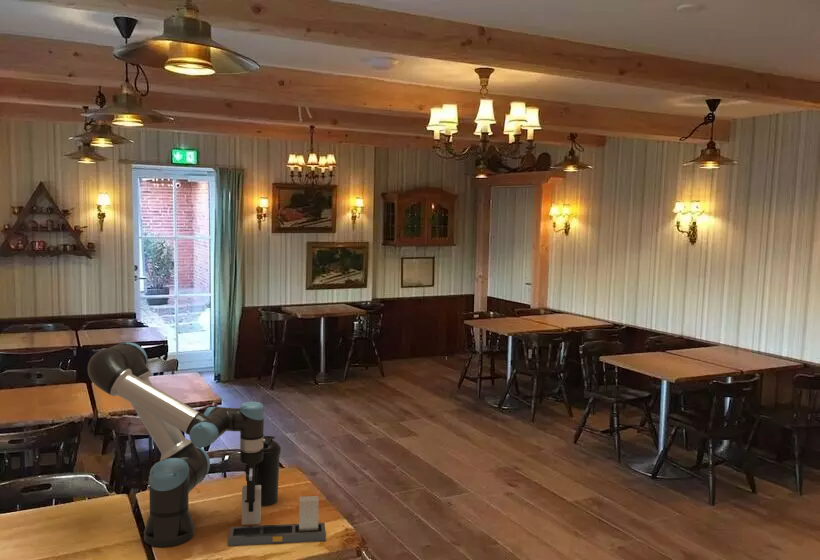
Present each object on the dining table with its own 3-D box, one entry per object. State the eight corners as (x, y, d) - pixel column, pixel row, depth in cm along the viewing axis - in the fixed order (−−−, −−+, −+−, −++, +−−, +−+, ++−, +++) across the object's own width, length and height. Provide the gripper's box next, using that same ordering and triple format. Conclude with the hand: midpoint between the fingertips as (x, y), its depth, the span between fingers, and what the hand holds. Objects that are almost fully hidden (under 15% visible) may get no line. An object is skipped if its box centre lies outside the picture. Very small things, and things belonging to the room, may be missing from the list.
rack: (228, 546, 207) (228, 507, 206) (230, 534, 214) (230, 496, 213) (325, 541, 212) (326, 503, 211) (324, 530, 220) (325, 493, 218)
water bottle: (283, 496, 245) (284, 435, 242) (275, 508, 234) (275, 444, 232) (256, 494, 246) (257, 433, 243) (247, 506, 235) (247, 442, 233)
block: (241, 524, 221) (241, 490, 220) (242, 520, 225) (242, 485, 224) (260, 523, 222) (260, 489, 221) (260, 519, 226) (261, 485, 225)
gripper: (262, 457, 214) (261, 527, 216) (264, 440, 230) (263, 505, 232) (238, 458, 212) (237, 529, 215) (242, 440, 229) (241, 506, 231)
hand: (251, 516), depth 223 cm, fingers closed on block, 3 cm apart
